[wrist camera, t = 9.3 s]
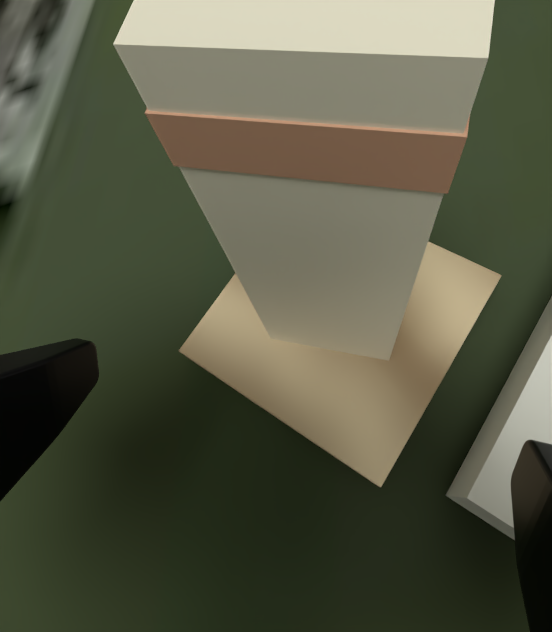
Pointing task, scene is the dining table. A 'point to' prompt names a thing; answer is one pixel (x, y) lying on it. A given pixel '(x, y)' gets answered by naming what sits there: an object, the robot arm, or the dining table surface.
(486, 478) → the white slotted base
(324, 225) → the rectangular peg
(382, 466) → the pad
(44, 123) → the dining table surface
